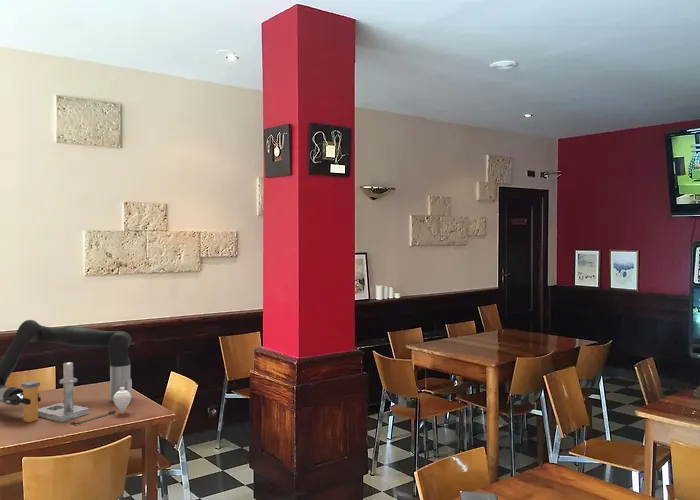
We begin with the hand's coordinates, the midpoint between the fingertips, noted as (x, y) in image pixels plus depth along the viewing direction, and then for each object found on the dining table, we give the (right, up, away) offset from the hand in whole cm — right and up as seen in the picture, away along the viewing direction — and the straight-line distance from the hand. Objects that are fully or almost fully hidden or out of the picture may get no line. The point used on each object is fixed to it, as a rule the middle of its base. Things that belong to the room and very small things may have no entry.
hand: (34, 400), depth 256 cm
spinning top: (+33, -9, +12) cm, 37 cm away
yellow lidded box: (-2, -9, +2) cm, 9 cm away
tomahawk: (+25, -10, +4) cm, 27 cm away
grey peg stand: (+7, -9, +10) cm, 15 cm away
